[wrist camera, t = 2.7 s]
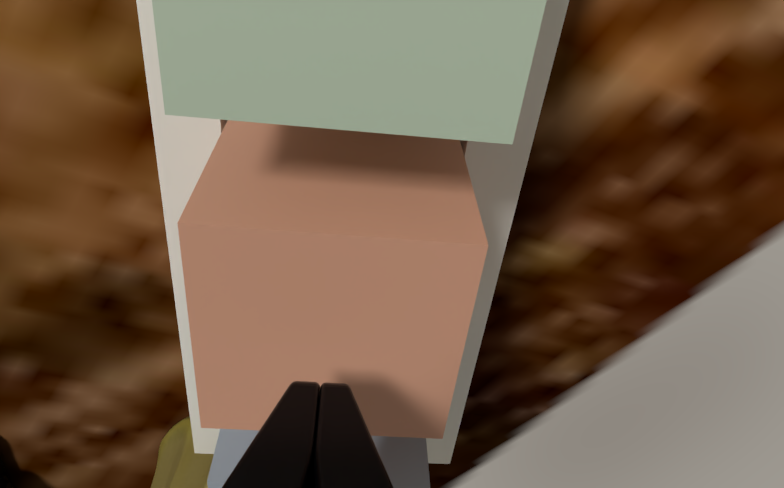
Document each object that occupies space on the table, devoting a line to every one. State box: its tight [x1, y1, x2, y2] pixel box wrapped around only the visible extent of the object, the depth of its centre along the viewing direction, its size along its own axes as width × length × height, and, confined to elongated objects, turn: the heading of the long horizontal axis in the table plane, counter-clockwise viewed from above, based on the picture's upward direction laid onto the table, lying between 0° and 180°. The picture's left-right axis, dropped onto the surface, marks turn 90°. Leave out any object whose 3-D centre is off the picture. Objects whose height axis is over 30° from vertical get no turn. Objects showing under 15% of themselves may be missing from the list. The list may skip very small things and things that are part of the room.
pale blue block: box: [207, 429, 430, 488], centre depth 15 cm, size 4×4×5 cm
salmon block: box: [177, 120, 488, 439], centre depth 12 cm, size 4×4×5 cm
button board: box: [136, 0, 569, 464], centre depth 15 cm, size 8×19×2 cm, turn 174°
